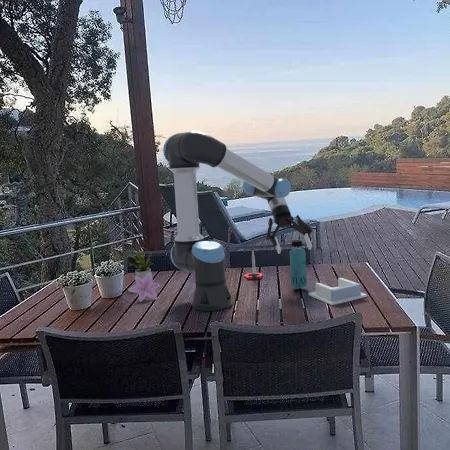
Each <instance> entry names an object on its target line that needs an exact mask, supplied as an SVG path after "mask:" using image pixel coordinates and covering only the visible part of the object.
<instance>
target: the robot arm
mask: <svg viewBox="0 0 450 450" xmlns="http://www.w3.org/2000/svg"><path fill="white" fill-rule="evenodd" d="M162 152H163V157H164V158H165V160H166V161H167V162H168V167H169V168H168V169H169V171H171V172H172V173H173V182H174V197H175V213H176V226H177V227H176V229H177V235H176V236H175V237H174V238H173V239H174V241H173V242H174V244H173V246H172V247H171V249H170V255H169V256H170V260H171V262H172V264H173V265H174V267H176V268H177V269H179V270H180V271H182V272H187V273H190V274H193V275H194V283H195V284H194V291H193V294H192V299H191V305H192V308H193V310H196V311H200V312H216V311H221V310H226V309H228V308H230V307H231V306H232V305H233V296H232V294H231V291H230V289H229V286H228V285H227V276H226V275H227V274H226V262H225V257H226V256H225V249H224V246H223V245H222V244H221V243H219V242H217V241H213V240H212V241H209V240H204V236H203V234H201V233H200V222H199V204H198V188H197V186H198V185H197V184H198V183H197V171H198V170H199V169H200V164H203V165H207V166H209V167H211V168H219V169H221V170H222V171H224V172H226V173H228V174H230V175H231V176H234V177H236V178H238V179H239V180H241V181H243V183H242V190H243V192H244V193H245V194H247V195H249V196H253V197H257V198H260V199H263V200H266V201H267V204H268V206H269V207H268V208H269V209H270V212H271V215H272V217H273V219H272V218H271V217H270V218H268V221H267V224H268V227H267V232H266V236H265V237H266V238H265V240H267V241H269V242H271V243H272V244H271V245H272V246H273V247H274V248H275V249H276V251H277V254H278V255H279V254H281V252H282V248H281V245H280V243H279V240H278V238H277V234H278V232H279V231H280V229H287V228H288V229H289V228H290V229H293V230H295V231H297V232H298V233H300V234H301V235H303V239H304V241H305V244H306V245H307V250H308V251H312V248H313V244H312V242H311V241H312V237H311V235H312V233H313V231H314V230H313V228H311V227H310V226H309V225H308V224H307V223H306V222H305V221H304V220H302V219H301V217H300V216H299V215H298V214H297V215H296V216H292V214H291V210H290V209H289V206H288V203H287V201H286V199H285V198H286V197H288V196H289V195H290V193H291V188H292V186H291V185H292V184H291V182H290V181H289V180H288V179H286V178H278V177H276V176H275V175H272V174H271V173H270V172H268V171H266V170H264V169H262V168H260V167H259V166H257V165H256V164H254V163H252V162H250V161H249V160H247V159H246V158H244V157H242V156H240V155H238V154H237V153H235V152H234V151H232V150H230V149H228V148H227V145H226V144H225V143H223V142H221V141H220V140H218V139H217V138H214V137H213V136H211V135H210V134H207V133H205V132H202V131H198V130H191V131H186V132H177V133H175V134H172V135H171V136H169V137H168V138H167V139H166V140H165V142H164V144H163V148H162ZM274 224H275V225H277V226H276V227H275V229H274V231H273V232H272V229H273V225H274ZM271 232H272V234H271Z"/></svg>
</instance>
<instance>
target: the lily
mask: <svg viewBox="0 0 450 450" xmlns="http://www.w3.org/2000/svg"><path fill="white" fill-rule="evenodd" d="M153 279H154V278H153V273H152V271H151V272H149V273H148V274H147V275H146V276H145V277H144V278H143V279H141V278H139V277H137V276H136V275H135V276H134V280H135V283H136V284H134V285H132V286H130V287H129V288H128V289H127V290H128V292H131V293H135V294H138V299H139V302H140V303H141V302H143V301H144V300H145V298H146V297H148V298H150V299H153V300H158V295H157V293H156V290H155V289H157V288H159V287H160V286H161V283H158V282H153Z"/></svg>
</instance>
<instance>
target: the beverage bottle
mask: <svg viewBox="0 0 450 450" xmlns="http://www.w3.org/2000/svg"><path fill="white" fill-rule="evenodd" d="M291 247H293V248H292V249H291V250H290V251H289V265H290V286H291V288H294V289H305V288H306V287H307V286H308V278H307V263H306V262H307V261H306V260H307V257H306V251H305V249H303V248H300V247H303V241H302V239H301V240H300V239H297V240H296V239H295V240H292V241H291Z"/></svg>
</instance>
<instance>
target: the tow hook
mask: <svg viewBox="0 0 450 450" xmlns="http://www.w3.org/2000/svg"><path fill="white" fill-rule="evenodd" d="M255 258H256V257H255V252H254V250H251V263H252V268H251V272H250V273H246V274H244V278H245V279H246V280H247V281H250V280H261V279H263V276H264V274H263V273H261V272H257V268H256V259H255ZM249 275H250V276H249Z"/></svg>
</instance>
